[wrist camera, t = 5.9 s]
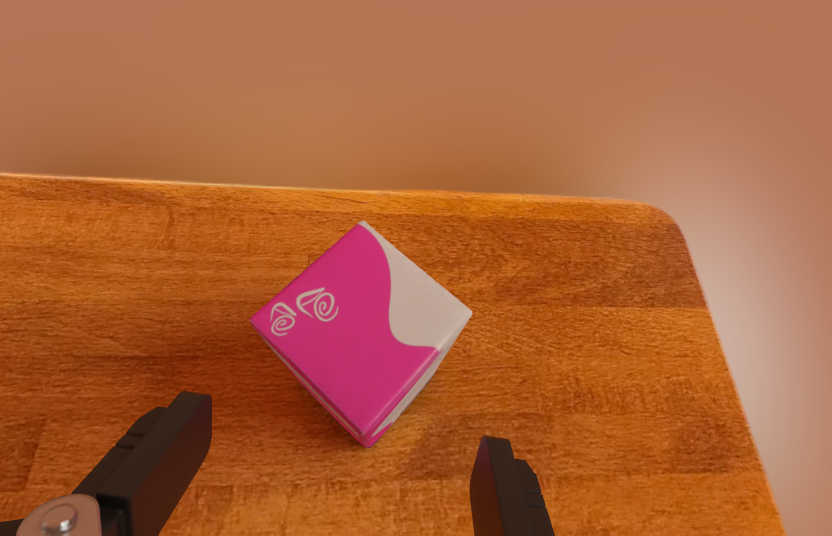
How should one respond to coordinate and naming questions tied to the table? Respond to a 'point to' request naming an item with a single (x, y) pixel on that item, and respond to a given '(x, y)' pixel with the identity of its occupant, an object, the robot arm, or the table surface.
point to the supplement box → (362, 331)
